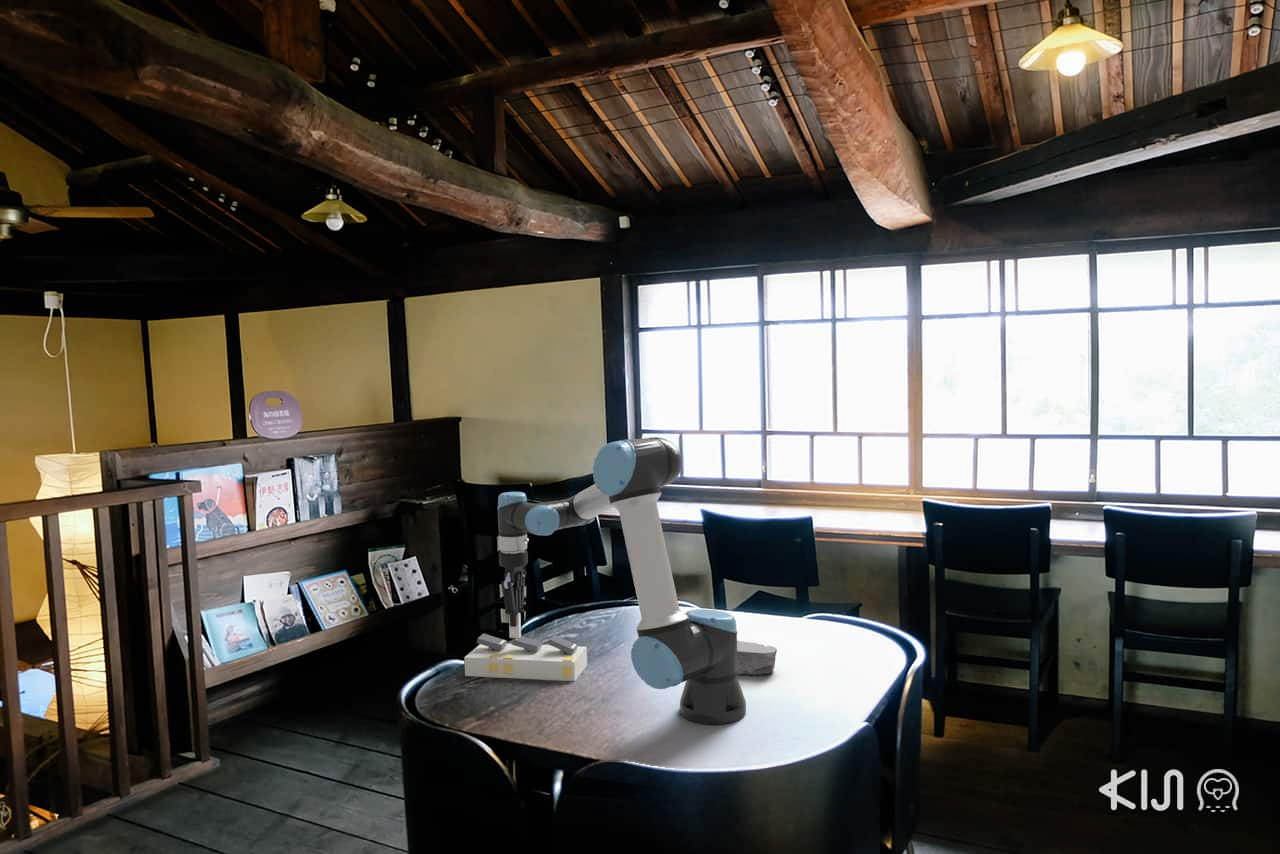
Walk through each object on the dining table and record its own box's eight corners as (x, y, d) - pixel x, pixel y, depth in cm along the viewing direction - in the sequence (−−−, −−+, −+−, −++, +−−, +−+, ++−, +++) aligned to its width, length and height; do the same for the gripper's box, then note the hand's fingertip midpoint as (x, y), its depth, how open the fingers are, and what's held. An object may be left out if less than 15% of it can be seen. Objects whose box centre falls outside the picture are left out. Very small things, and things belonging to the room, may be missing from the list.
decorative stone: (719, 665, 217) (720, 678, 207) (719, 640, 217) (720, 651, 207) (774, 666, 216) (778, 678, 206) (774, 640, 216) (778, 651, 206)
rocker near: (572, 654, 213) (574, 649, 213) (548, 644, 214) (550, 639, 214) (576, 649, 217) (578, 644, 217) (552, 639, 218) (554, 634, 218)
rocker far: (500, 650, 217) (502, 645, 217) (476, 643, 218) (477, 637, 218) (506, 645, 221) (507, 640, 221) (482, 638, 222) (483, 632, 222)
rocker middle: (536, 651, 215) (537, 646, 215) (512, 644, 216) (513, 639, 216) (541, 646, 219) (542, 641, 219) (517, 640, 220) (518, 634, 220)
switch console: (574, 681, 208) (573, 658, 207) (464, 676, 214) (463, 653, 213) (587, 664, 220) (586, 643, 219) (482, 660, 226) (482, 638, 225)
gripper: (518, 556, 209) (520, 645, 211) (534, 545, 222) (536, 630, 224) (490, 555, 211) (492, 644, 212) (508, 544, 223) (510, 628, 225)
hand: (515, 636), depth 218 cm, fingers closed
